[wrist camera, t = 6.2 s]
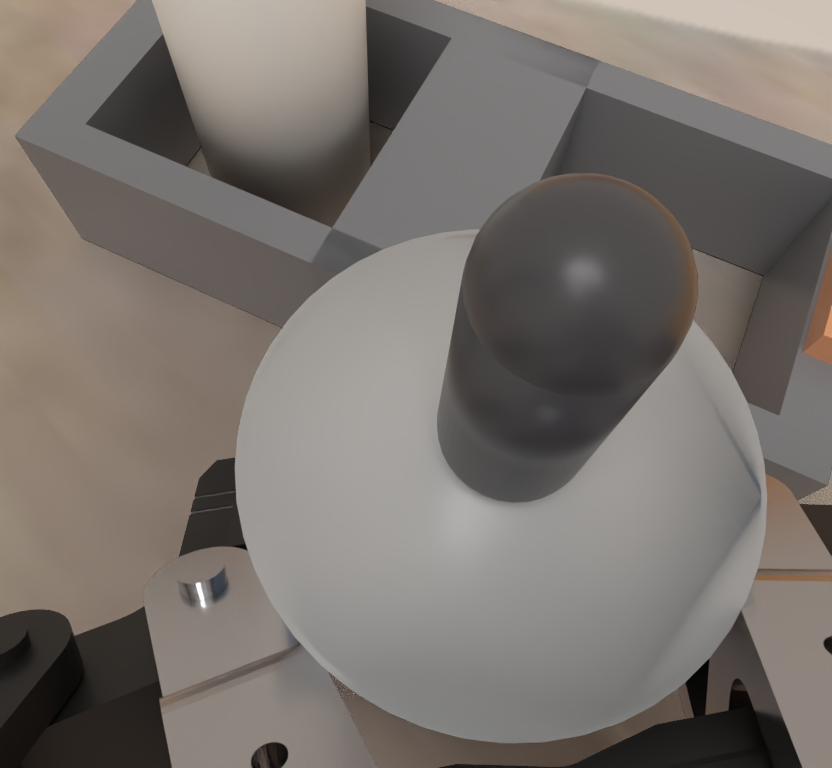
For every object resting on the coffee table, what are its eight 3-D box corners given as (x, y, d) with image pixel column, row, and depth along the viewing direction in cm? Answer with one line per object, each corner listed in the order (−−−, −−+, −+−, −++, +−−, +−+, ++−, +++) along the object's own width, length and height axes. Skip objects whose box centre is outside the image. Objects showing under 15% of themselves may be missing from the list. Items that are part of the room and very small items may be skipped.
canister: (291, 657, 16) (-151, 442, 3) (383, 475, 17) (381, -188, 4) (482, 756, 15) (1085, 1080, 2) (559, 558, 17) (1151, 65, 4)
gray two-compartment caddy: (81, 237, 20) (-465, -592, 7) (238, 41, 23) (51, -785, 10) (736, 530, 18) (1716, 49, 5) (813, 264, 21) (1524, -465, 8)
